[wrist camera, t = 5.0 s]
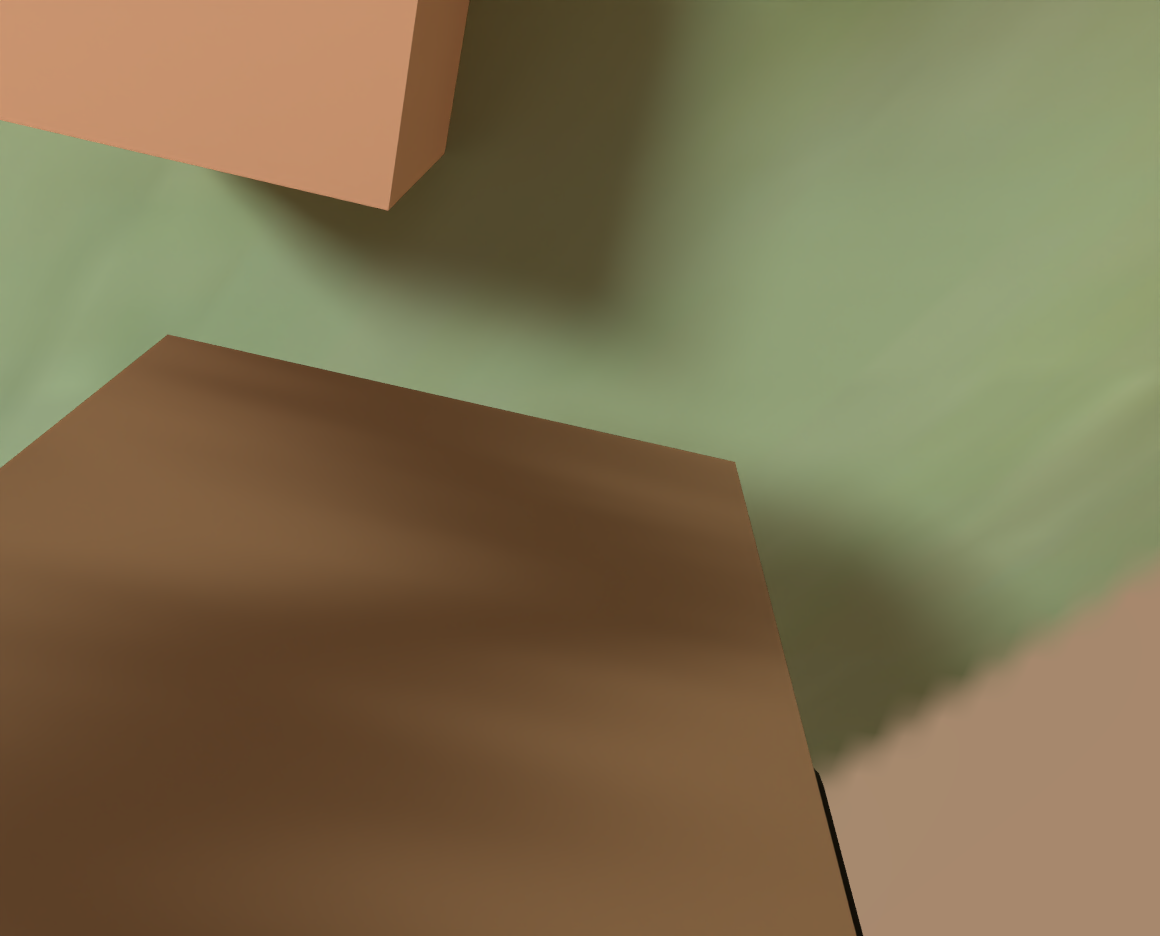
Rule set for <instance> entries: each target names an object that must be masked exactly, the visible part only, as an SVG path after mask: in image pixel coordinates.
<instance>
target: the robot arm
mask: <svg viewBox="0 0 1160 936" xmlns="http://www.w3.org/2000/svg"><path fill="white" fill-rule="evenodd" d="M813 769H814V768H813ZM814 772H815V776H816V780H817V784H818V788H819V792H820V796H821V800H822V804H823V807H824V811H825V815H826V819H827V823H828V827H829V831H830V835H831V839H832V843H833V846H834V850H835V854H836V858H837V862H838V866H839V870H840V874H841V878H842V882H843V885H844V889H845V893H846V897H847V901H848V905H849V909H850V913H851V917H852V921H853V924H854V928H855V932H856V936H863V934H862V930H861V926H860V922H859V919H858V915H857V911H856V907H855V903H854V899H853V896H852V892H851V888H850V885H849V880H848V877H847V873H846V869H845V865H844V862H843V858H842V854H841V850H840V846H839V843H838V839H837V835H836V832H835V827H834V824H833V820H832V816H831V812H830V809H829V805H828V801H827V797H826V793H825V789H824V786H823V783H822V781H821V778H820V775H819V773H818V772H817V771H816V770H815V769H814Z"/></svg>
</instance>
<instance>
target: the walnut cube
mask: <svg viewBox="0 0 1160 936" xmlns="http://www.w3.org/2000/svg"><path fill="white" fill-rule="evenodd" d="M0 936H856V932H855V928H854V924H853V921H852V917H851V913H850V909H849V905H848V901H847V897H846V893H845V889H844V885H843V882H842V878H841V874H840V870H839V866H838V862H837V858H836V854H835V850H834V846H833V843H832V839H831V835H830V831H829V827H828V823H827V819H826V815H825V811H824V807H823V804H822V800H821V796H820V792H819V788H818V784H817V780H816V776H815V772H814V769H813V765H812V761H811V757H810V753H809V749H808V745H807V741H806V737H805V733H804V730H803V726H802V722H801V718H800V714H799V710H798V706H797V702H796V698H795V694H794V691H793V687H792V683H791V679H790V675H789V671H788V667H787V663H786V659H785V655H784V652H783V648H782V644H781V640H780V636H779V632H778V628H777V624H776V620H775V616H774V613H773V609H772V605H771V601H770V597H769V593H768V589H767V585H766V581H765V577H764V574H763V570H762V566H761V562H760V558H759V554H758V550H757V546H756V542H755V538H754V535H753V531H752V527H751V523H750V519H749V515H748V511H747V507H746V503H745V500H744V496H743V492H742V488H741V484H740V480H739V476H738V472H737V468H736V464H735V462H732V461H728V460H724V459H719V458H715V457H710V456H706V455H701V454H697V453H692V452H688V451H684V450H679V449H675V448H670V447H666V446H661V445H657V444H652V443H648V442H643V441H639V440H635V439H630V438H626V437H621V436H617V435H612V434H608V433H603V432H599V431H595V430H590V429H586V428H581V427H577V426H572V425H568V424H563V423H559V422H554V421H550V420H546V419H541V418H537V417H532V416H528V415H523V414H519V413H514V412H510V411H506V410H501V409H497V408H492V407H488V406H483V405H479V404H474V403H470V402H465V401H461V400H457V399H452V398H448V397H443V396H439V395H434V394H430V393H425V392H421V391H417V390H412V389H408V388H403V387H399V386H394V385H390V384H385V383H381V382H376V381H372V380H368V379H363V378H359V377H354V376H350V375H345V374H341V373H336V372H332V371H328V370H323V369H319V368H314V367H310V366H305V365H301V364H296V363H292V362H287V361H283V360H279V359H274V358H270V357H265V356H261V355H256V354H252V353H247V352H243V351H239V350H234V349H230V348H225V347H221V346H216V345H212V344H207V343H203V342H198V341H194V340H190V339H185V338H181V337H176V336H172V335H167V336H165V337H164V338H163V339H162V340H160V341H159V342H158V343H157V344H155V345H154V346H153V347H152V348H150V349H149V350H148V351H147V352H145V353H144V354H143V355H142V356H140V357H139V358H138V359H137V360H135V361H134V362H133V363H132V364H130V365H129V366H128V367H127V368H125V369H124V370H123V371H122V372H120V373H119V374H118V375H117V376H115V377H114V378H113V379H112V380H110V381H109V382H108V383H107V384H105V385H104V386H103V387H102V388H100V389H99V390H98V391H97V392H95V393H94V394H93V395H91V396H90V397H89V398H88V399H86V400H85V401H84V402H83V403H81V404H80V405H79V406H78V407H76V408H75V409H74V410H73V411H71V412H70V413H69V414H68V415H66V416H65V417H64V418H63V419H61V420H60V421H59V422H58V423H56V424H55V425H54V426H53V427H51V428H50V429H49V430H48V431H46V432H45V433H44V434H43V435H41V436H40V437H39V438H38V439H36V440H35V441H34V442H33V443H31V444H30V445H29V446H28V447H26V448H25V449H24V450H23V451H21V452H20V453H19V454H18V455H16V456H15V457H14V458H13V459H11V460H10V461H9V462H8V463H6V464H5V465H4V466H2V467H1V468H0Z"/></svg>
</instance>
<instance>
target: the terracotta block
mask: <svg viewBox="0 0 1160 936" xmlns="http://www.w3.org/2000/svg"><path fill="white" fill-rule="evenodd" d="M469 1H470V0H0V120H3V121H7V122H12V123H16V124H20V125H25V126H29V127H33V128H37V129H42V130H46V131H50V132H54V133H59V134H63V135H67V136H72V137H76V138H80V139H84V140H89V141H93V142H97V143H101V144H106V145H110V146H114V147H119V148H123V149H127V150H131V151H136V152H140V153H144V154H148V155H153V156H157V157H161V158H166V159H170V160H174V161H178V162H183V163H187V164H191V165H195V166H200V167H204V168H208V169H213V170H217V171H221V172H225V173H230V174H234V175H238V176H242V177H247V178H251V179H255V180H260V181H264V182H268V183H272V184H277V185H281V186H285V187H289V188H294V189H298V190H302V191H307V192H311V193H315V194H319V195H324V196H328V197H332V198H336V199H341V200H345V201H349V202H354V203H358V204H362V205H366V206H371V207H375V208H379V209H383V210H389V209H390V208H391V207H392V206H393V205H394V204H395V203H396V202H397V201H398V200H399V199H400V198H401V197H402V196H403V195H404V194H405V193H406V192H407V191H408V190H409V189H410V188H411V187H412V186H413V185H414V184H415V183H416V182H417V181H418V180H419V179H420V178H421V177H422V176H423V175H424V174H425V173H426V172H427V171H428V170H429V169H430V168H431V167H432V166H433V165H434V164H435V163H436V162H437V161H438V160H439V159H440V158H441V157H442V156H443V155H444V154H445V148H446V142H447V136H448V130H449V123H450V117H451V111H452V105H453V99H454V93H455V87H456V80H457V74H458V68H459V62H460V56H461V50H462V44H463V37H464V31H465V25H466V19H467V13H468V7H469Z"/></svg>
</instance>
